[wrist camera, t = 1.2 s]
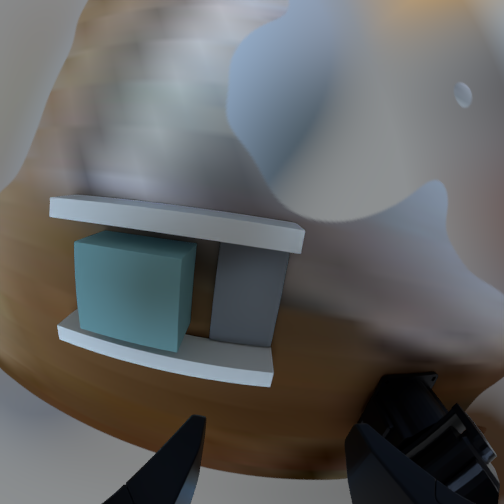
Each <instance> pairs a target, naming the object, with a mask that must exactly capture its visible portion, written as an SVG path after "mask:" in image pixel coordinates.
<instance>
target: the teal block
mask: <svg viewBox="0 0 504 504" xmlns="http://www.w3.org/2000/svg"><path fill="white" fill-rule="evenodd" d="M196 247H197V243H191V242H184V241H177V240H170V239H163V238H156V237H149V236H142V235H135V234H128V233H120V232H113V231H106V230H105V231H102V232H99V233H97V234H94V235H91V236H88V237H85V238H83V239H80V240H77V241H75V242H74V258H75V280H76V293H77V304H78V313H79V321H80V328H81V329H85V330H88V331H91V332H94V333H98V334H101V335H105V336H108V337H112V338H116V339H120V340H123V341H127V342H131V343H135V344H140V345H144V346H148V347H153V348H157V349H162V350H166V351H171V352H176V353H177V352H178V350H179V347H180V345H181V343H182V340H183V338H184V336H185V333H186V331H187V329H188V326H189V324H190V320H191V305H192V291H193V279H194V268H195V257H196Z"/></svg>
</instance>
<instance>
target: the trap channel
mask: <svg viewBox="0 0 504 504" xmlns="http://www.w3.org/2000/svg"><path fill="white" fill-rule="evenodd" d="M50 217H54V218H61V219H68V220H75V221H82V222H89V223H97V224H103V225H110V226H117V227H124V228H131V229H138V230H145V231H152V232H159V233H165V234H172V235H179V236H186V237H192V238H199V239H206V240H213V241H219V242H220V250H219V257H218V265H217V273H216V281H215V290H214V298H213V307H212V316H211V325H210V335H209V338H203V337H197V336H191V335H186V334H185V336H184V338H183V340H182V343H181V345H180V347H179V350H178V352H177V353H176V352H171V351H166V350H162V349H157V348H153V347H148V346H144V345H140V344H135V343H131V342H127V341H123V340H120V339H116V338H112V337H108V336H105V335H101V334H98V333H94V332H91V331H88V330H85V329H81V328H80V321H79V313H78V309H76V310H75V311H74V312H73V313H71V314H70V315H69V316H68V317H66V318H65V319H64V320H63V321H61V322H60V323H59V324H58V325H57V327H58V333H59V338H60V340H63V341H65V342H68V343H71V344H74V345H76V346H79V347H82V348H85V349H88V350H91V351H94V352H97V353H100V354H103V355H107V356H110V357H113V358H117V359H120V360H124V361H127V362H131V363H135V364H139V365H143V366H146V367H151V368H155V369H159V370H163V371H168V372H173V373H177V374H182V375H187V376H193V377H198V378H204V379H210V380H216V381H222V382H229V383H237V384H245V385H253V386H263V387H270V385H271V382H272V378H273V374H274V371H273V361H272V352H271V347H270V346H271V342H272V337H273V333H274V328H275V324H276V319H277V314H278V310H279V305H280V300H281V295H282V290H283V285H284V280H285V275H286V270H287V265H288V260H289V255H290V252H292V253H298V254H301V251H302V246H303V240H304V235H305V230H304V229H303V228H302V227H300V226H299V225H298V224H297V223H294V222H288V221H282V220H276V219H270V218H264V217H257V216H251V215H244V214H237V213H231V212H224V211H217V210H210V209H202V208H195V207H187V206H180V205H172V204H164V203H155V202H147V201H138V200H129V199H120V198H110V197H100V196H89V195H78V194H75V195H66V196H57V197H50Z"/></svg>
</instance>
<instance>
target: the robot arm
mask: <svg viewBox="0 0 504 504" xmlns="http://www.w3.org/2000/svg"><path fill="white" fill-rule="evenodd" d="M437 378H438V375H437V374H436V373H435V372H429V373H417V374H401V375H386V376H384V377H382V378H381V380H380V382H379V384H378V386H377V388H376V390H375V392H374V394H373V396H372V398H371V400H370V402H369V404H368V406H367V407H366V409H365V411H364V413H363V415H362V417H361V419H360V420H359V422H358V424H355V425H354V426H353V427H352V429H351V431H350V432H349V434H348V436H347V437H346V439H345V454H346V465H347V477H348V484H349V489H350V494H351V499H352V504H498V497H499V488H500V484H499V480H498V477H497V474H496V471H495V469H494V467H493V466H492V464H491V463H490V462H491V461H492V460H493V459H494V458H495V457H496V456H497V455H496V454H495V452H494V451H493V449H492V447H491V446H490V444H489V443H488V442H487V440H486V438H485V437H484V435H483V434H482V432H481V431H480V430H479V428H478V427H477V426H476V425H475V423H474V422H473V421H472V419H471V418H470V417H469V416H468V415H467V414H466V412H465V411H464V410H463V409H462V408H461V407H460V406H459V405H458V403H456V404H455V405H454V406H453V407H452V409H451V410H450V411H449V412H448V411H447V409H446V408H445V406H444V405H443V404H442V402H441V401H440V400H439V398H438V397H437V396H436V394H435V393H434V392H433V390H432V387H433V385H434V383H435V382H436V380H437ZM385 381H386V382H385ZM205 429H206V417H205V416H200V415H192V416H191V417H190V418H189V419H188V420H187V421H186V422H185V423H184V424H183V425H182V426H181V427H180V429H179V430H178V431H177V432H176V433H175V434H174V435H173V436H172V437H171V438H170V439H169V440H168V441H167V442H166V443H165V444H164V445H163V447H162V448H161V449H160V450H159V451H158V452H157V453H156V454H155V455H154V456H153V457H152V458H151V459H150V460H149V461H148V462H147V463H146V464H145V465H144V466H143V467H142V468H141V469H140V470H139V471H138V472H137V473H136V474H135V475H134V476H133V477H132V478H131V479H130V480H128V481H127V482H126V485H123V486H122V487H121V488H120V489H119V490H118V491H117V492H116V493H114V494H113V495H112V496H111V497H110V498H108V499H107V500H106V501H105V502H104V503H102V504H190V503H191V500H192V497H193V494H194V491H195V488H196V485H197V481H198V477H199V472H200V465H201V458H202V452H203V445H204V439H205ZM465 429H466V430H465ZM464 430H465V431H464ZM463 431H464V432H463ZM462 432H463V433H462ZM461 433H462V434H461Z"/></svg>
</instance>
